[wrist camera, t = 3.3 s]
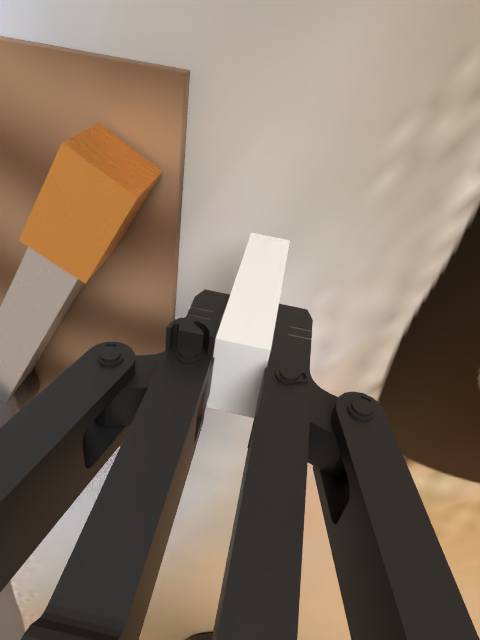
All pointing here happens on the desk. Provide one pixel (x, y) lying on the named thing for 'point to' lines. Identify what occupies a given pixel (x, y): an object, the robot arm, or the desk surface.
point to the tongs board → (37, 158)
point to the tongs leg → (66, 248)
